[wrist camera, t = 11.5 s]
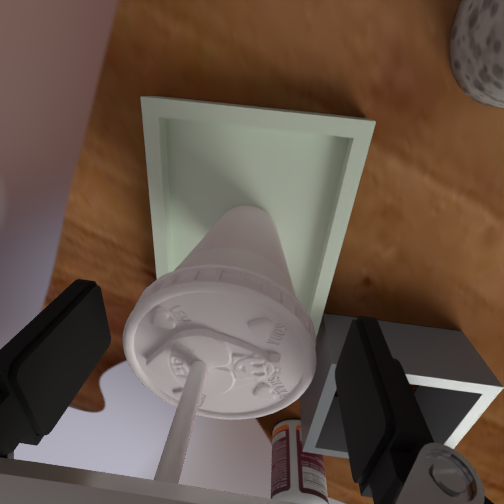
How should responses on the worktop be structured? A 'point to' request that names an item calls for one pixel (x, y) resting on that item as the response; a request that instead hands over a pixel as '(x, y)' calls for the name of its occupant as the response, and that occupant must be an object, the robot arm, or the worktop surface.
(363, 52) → the worktop surface
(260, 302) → the smoothie
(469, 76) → the mug
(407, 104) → the worktop surface
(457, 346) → the grey square tube frame
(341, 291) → the worktop surface
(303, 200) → the tray
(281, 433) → the pill bottle
